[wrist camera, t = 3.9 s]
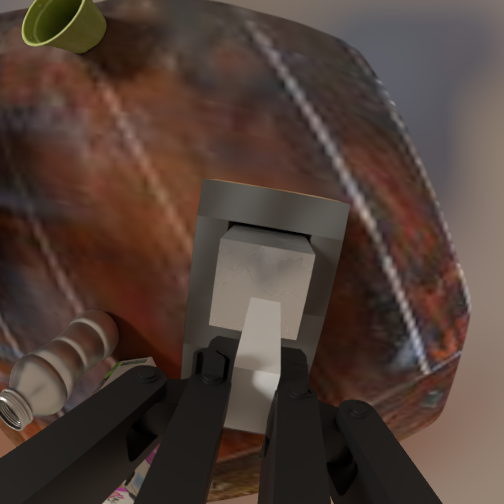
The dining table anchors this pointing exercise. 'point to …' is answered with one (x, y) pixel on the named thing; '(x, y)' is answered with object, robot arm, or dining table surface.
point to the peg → (261, 276)
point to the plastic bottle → (57, 368)
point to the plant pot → (64, 25)
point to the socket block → (269, 215)
